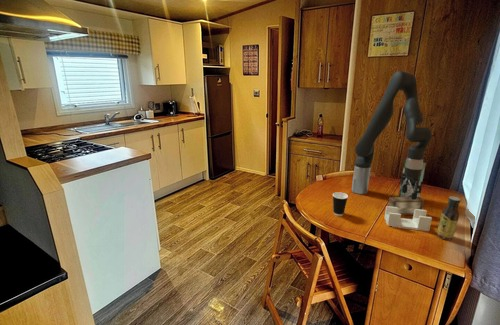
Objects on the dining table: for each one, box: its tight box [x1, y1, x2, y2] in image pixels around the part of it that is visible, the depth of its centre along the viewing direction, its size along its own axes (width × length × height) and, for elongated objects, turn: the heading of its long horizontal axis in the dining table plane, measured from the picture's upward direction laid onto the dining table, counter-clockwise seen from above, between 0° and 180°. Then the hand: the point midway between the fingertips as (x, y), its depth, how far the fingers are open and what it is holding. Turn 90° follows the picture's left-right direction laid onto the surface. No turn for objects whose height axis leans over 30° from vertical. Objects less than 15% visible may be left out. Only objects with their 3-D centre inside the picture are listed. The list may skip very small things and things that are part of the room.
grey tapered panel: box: [387, 196, 425, 217], centre depth 144 cm, size 16×4×9 cm, turn 90°
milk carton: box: [398, 159, 427, 197], centre depth 158 cm, size 9×9×25 cm
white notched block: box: [384, 205, 433, 232], centre depth 134 cm, size 18×9×7 cm, turn 74°
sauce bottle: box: [436, 196, 461, 241], centre depth 121 cm, size 6×6×20 cm
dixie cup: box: [332, 191, 349, 217], centre depth 144 cm, size 8×8×11 cm
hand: (408, 195), depth 142 cm, fingers open, 8 cm apart
